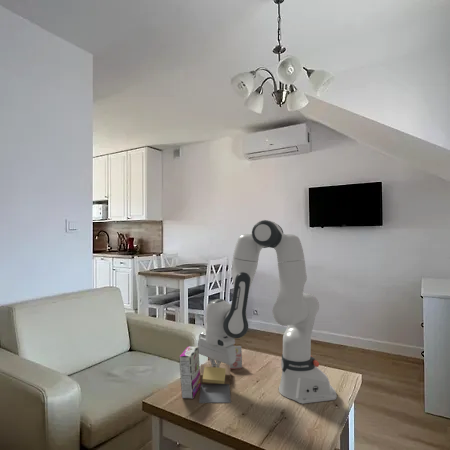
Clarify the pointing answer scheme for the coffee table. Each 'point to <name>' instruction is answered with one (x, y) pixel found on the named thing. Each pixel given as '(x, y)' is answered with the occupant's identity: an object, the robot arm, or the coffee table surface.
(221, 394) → the mat
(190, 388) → the candy bar box
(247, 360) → the coffee table surface
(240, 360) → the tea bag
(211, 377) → the pale yellow rectangular block
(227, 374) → the deck
